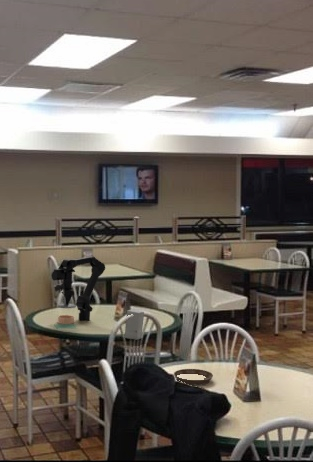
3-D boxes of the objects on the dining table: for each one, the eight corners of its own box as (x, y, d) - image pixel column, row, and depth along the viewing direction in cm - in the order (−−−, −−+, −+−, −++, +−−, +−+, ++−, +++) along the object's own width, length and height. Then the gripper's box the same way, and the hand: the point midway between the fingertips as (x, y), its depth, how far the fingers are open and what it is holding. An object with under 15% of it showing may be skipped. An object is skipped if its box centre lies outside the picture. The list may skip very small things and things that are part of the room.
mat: (73, 324, 386) (73, 324, 386) (76, 329, 375) (76, 328, 375) (54, 325, 383) (54, 324, 383) (56, 329, 371) (56, 328, 371)
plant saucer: (176, 386, 273) (176, 379, 272) (171, 374, 290) (171, 368, 290) (216, 386, 275) (216, 380, 274) (208, 375, 292) (208, 368, 292)
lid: (74, 304, 397) (74, 296, 397) (77, 308, 386) (77, 299, 386) (55, 304, 394) (56, 296, 394) (58, 308, 383) (58, 299, 383)
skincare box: (124, 338, 358) (125, 310, 357) (130, 335, 364) (131, 308, 363) (137, 340, 354) (138, 312, 353) (143, 337, 360) (144, 310, 359)
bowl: (72, 321, 397) (72, 315, 397) (74, 324, 388) (74, 318, 387) (57, 321, 394) (57, 315, 394) (59, 324, 385) (59, 318, 385)
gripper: (52, 277, 396) (51, 301, 397) (56, 281, 378) (55, 307, 379) (70, 277, 399) (69, 301, 400) (74, 281, 381) (73, 307, 382)
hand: (66, 304), depth 390 cm, fingers closed on lid, 3 cm apart
